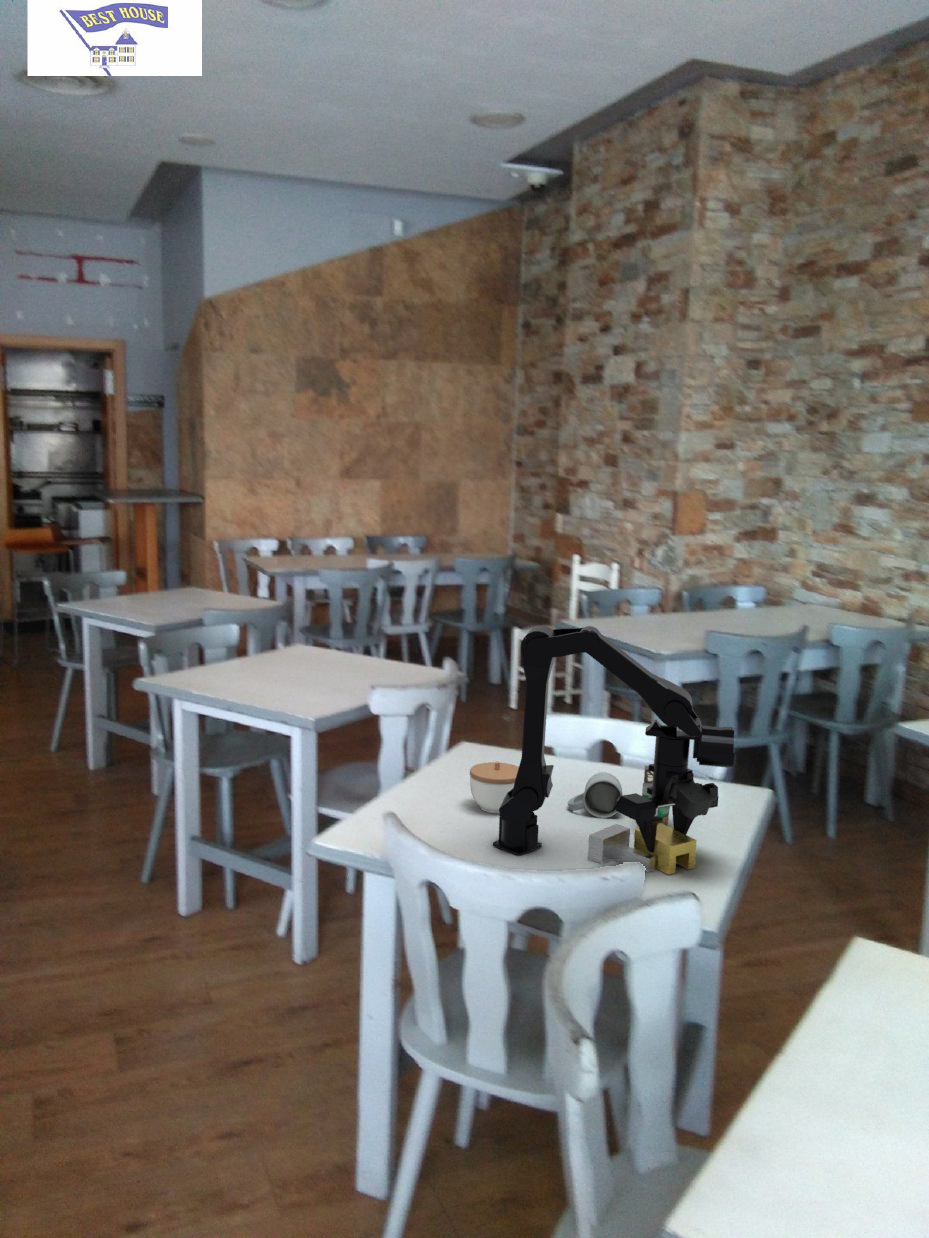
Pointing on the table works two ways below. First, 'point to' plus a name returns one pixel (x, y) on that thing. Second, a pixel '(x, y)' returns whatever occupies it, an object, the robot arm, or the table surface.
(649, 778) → the food container
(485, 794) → the lidded jar
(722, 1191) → the table surface
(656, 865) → the block
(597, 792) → the ceramic mug
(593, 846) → the rail
